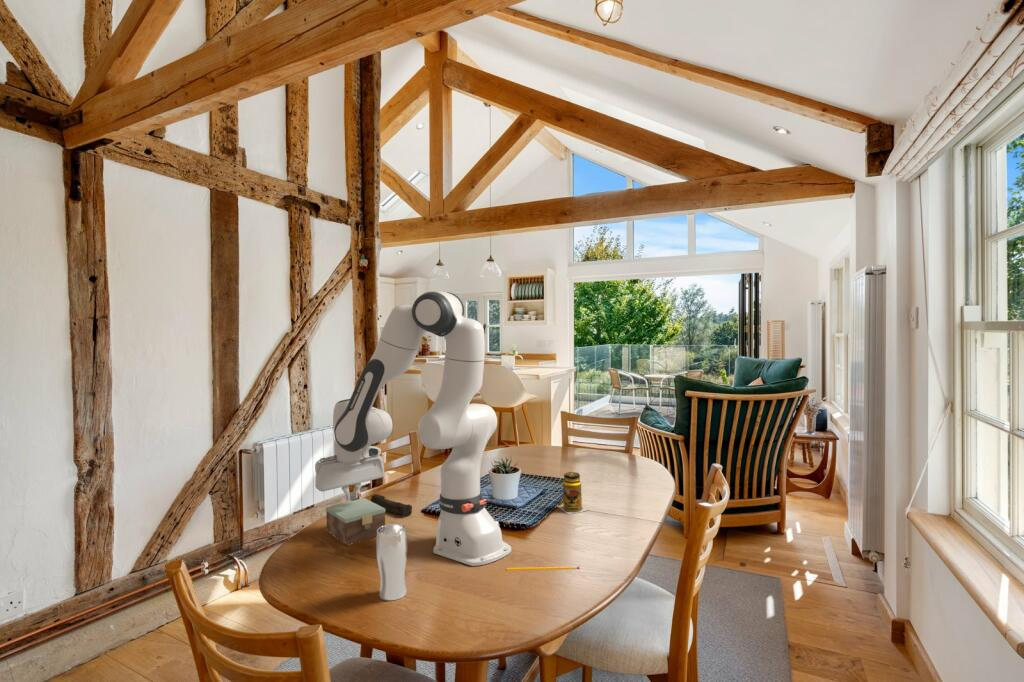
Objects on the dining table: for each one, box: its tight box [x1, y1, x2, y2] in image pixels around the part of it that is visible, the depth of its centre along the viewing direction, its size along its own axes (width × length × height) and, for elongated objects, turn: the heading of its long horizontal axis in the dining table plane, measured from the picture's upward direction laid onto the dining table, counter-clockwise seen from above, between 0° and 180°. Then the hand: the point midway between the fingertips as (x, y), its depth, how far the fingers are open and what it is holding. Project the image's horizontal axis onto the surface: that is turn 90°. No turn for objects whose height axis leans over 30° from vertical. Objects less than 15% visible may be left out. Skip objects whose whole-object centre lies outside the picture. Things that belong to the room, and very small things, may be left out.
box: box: [325, 510, 386, 546], centre depth 151 cm, size 15×12×6 cm
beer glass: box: [375, 523, 408, 602], centre depth 115 cm, size 7×7×15 cm
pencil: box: [506, 566, 580, 571], centre depth 126 cm, size 1×18×1 cm, turn 90°
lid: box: [325, 497, 386, 525], centre depth 151 cm, size 15×12×3 cm
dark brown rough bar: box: [370, 493, 413, 518], centre depth 170 cm, size 19×4×5 cm, turn 51°
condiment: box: [556, 471, 587, 515], centre depth 168 cm, size 7×8×12 cm
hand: (351, 499), depth 149 cm, fingers closed
